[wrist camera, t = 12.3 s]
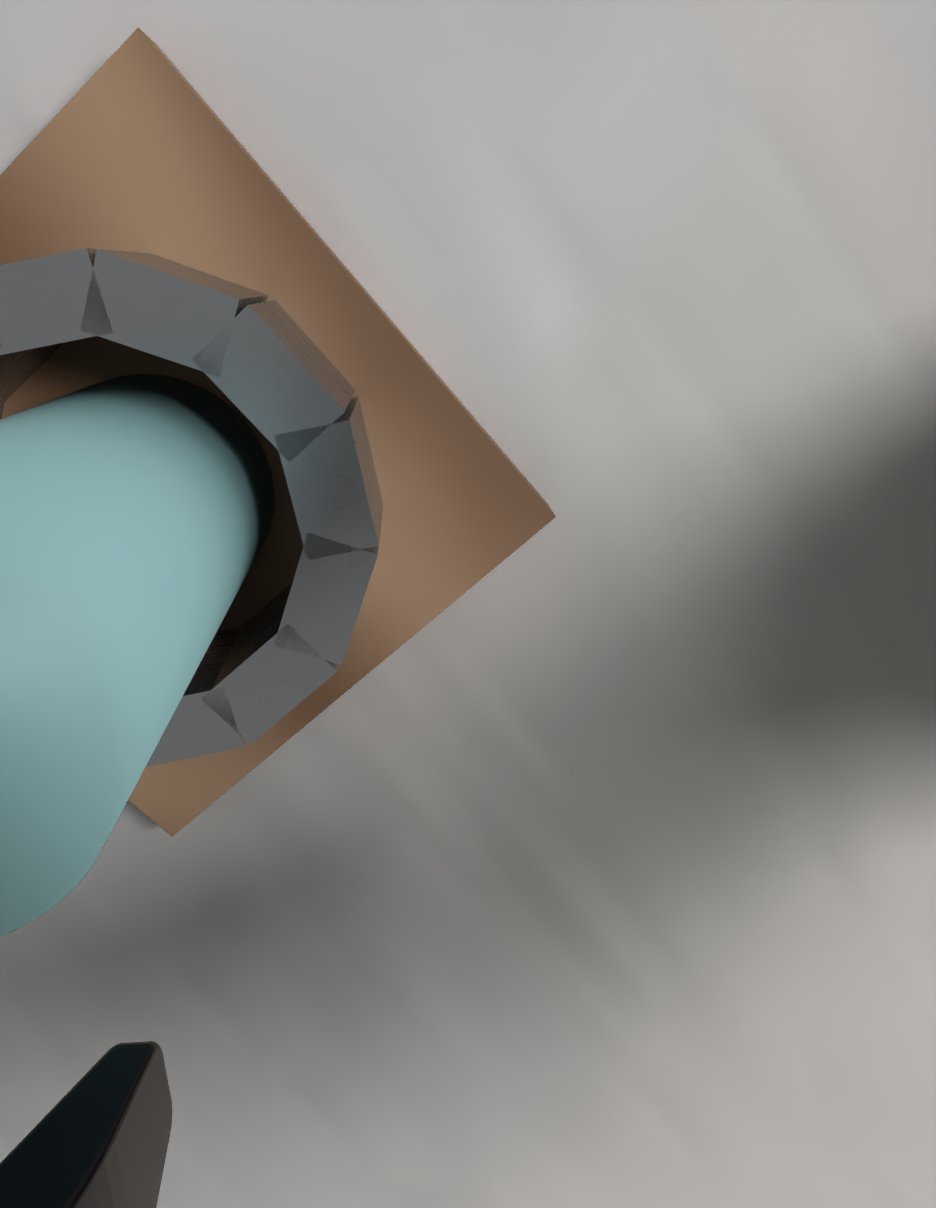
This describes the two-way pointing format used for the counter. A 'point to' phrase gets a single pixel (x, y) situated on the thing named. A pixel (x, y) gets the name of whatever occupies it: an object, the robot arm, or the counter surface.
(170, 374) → the base board
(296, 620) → the collar
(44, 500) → the peg
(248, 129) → the counter surface
